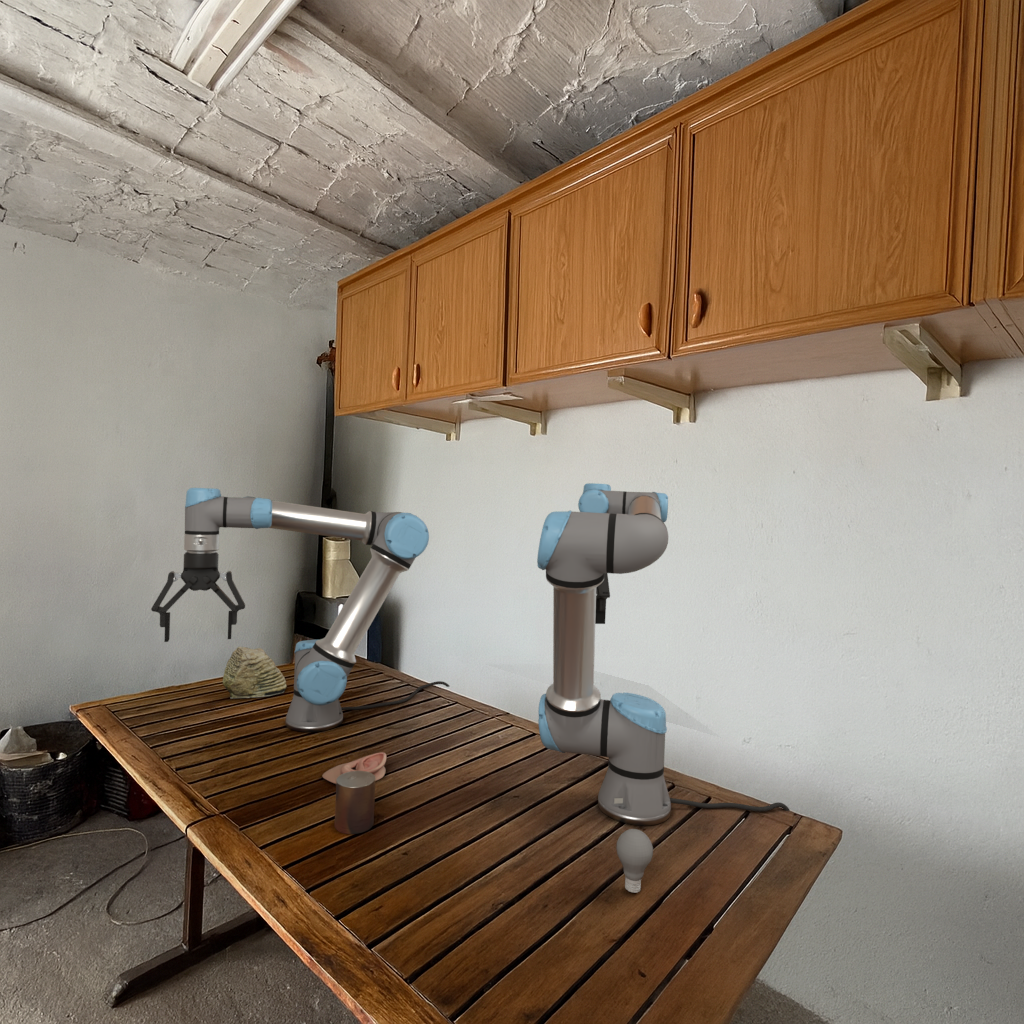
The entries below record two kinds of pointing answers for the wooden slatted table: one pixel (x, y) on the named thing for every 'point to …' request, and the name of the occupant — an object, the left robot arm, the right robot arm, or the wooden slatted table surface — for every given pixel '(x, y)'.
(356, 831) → the canister
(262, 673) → the fossil
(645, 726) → the right robot arm
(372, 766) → the anatomical model
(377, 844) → the wooden slatted table surface
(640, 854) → the light bulb
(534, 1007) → the wooden slatted table surface
